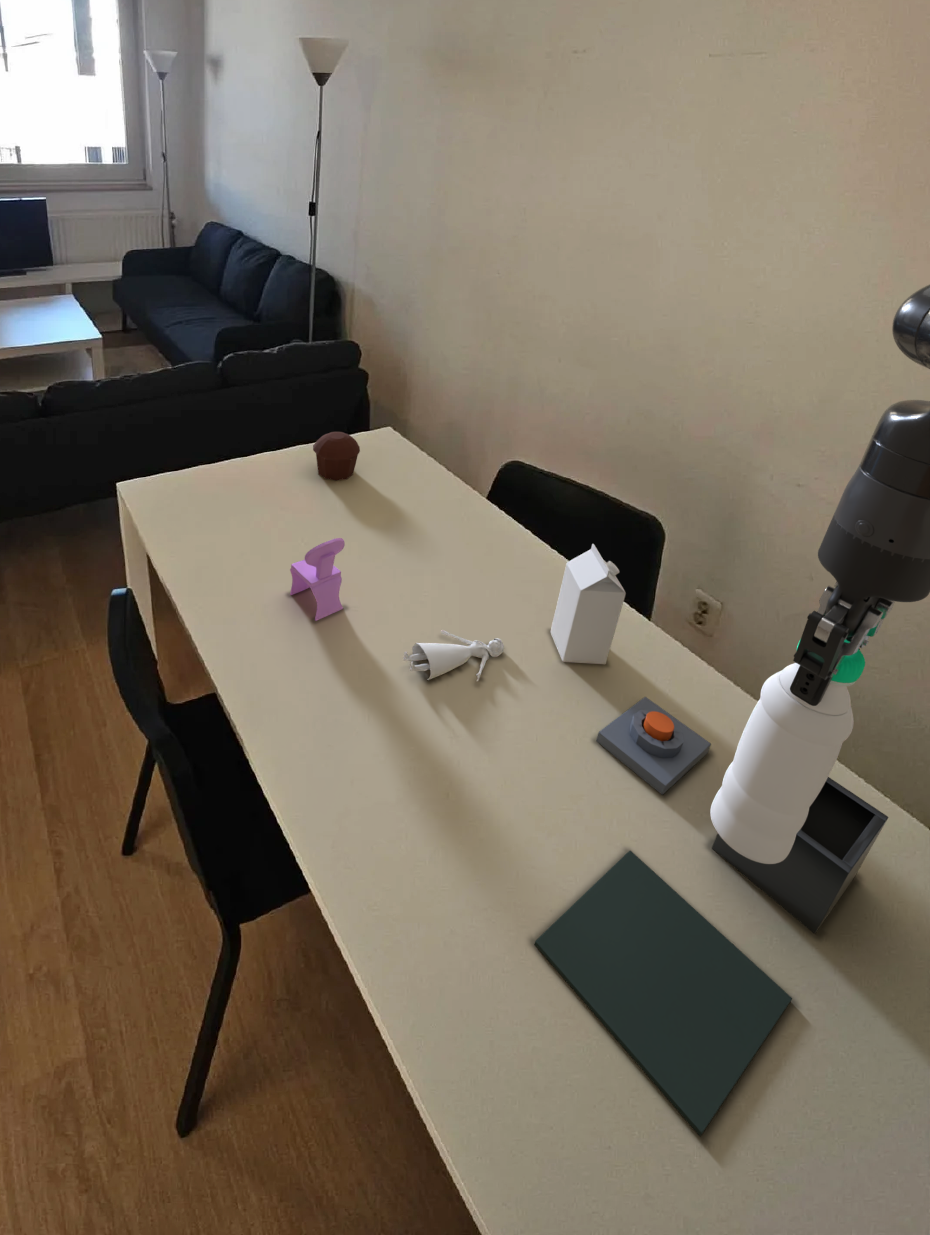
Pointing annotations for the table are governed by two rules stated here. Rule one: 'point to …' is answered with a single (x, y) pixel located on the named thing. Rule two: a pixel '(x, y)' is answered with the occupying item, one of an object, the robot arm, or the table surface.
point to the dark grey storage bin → (816, 855)
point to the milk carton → (587, 609)
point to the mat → (665, 986)
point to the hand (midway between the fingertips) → (817, 684)
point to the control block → (653, 746)
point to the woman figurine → (451, 654)
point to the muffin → (336, 455)
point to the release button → (658, 726)
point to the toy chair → (320, 576)
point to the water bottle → (783, 763)
